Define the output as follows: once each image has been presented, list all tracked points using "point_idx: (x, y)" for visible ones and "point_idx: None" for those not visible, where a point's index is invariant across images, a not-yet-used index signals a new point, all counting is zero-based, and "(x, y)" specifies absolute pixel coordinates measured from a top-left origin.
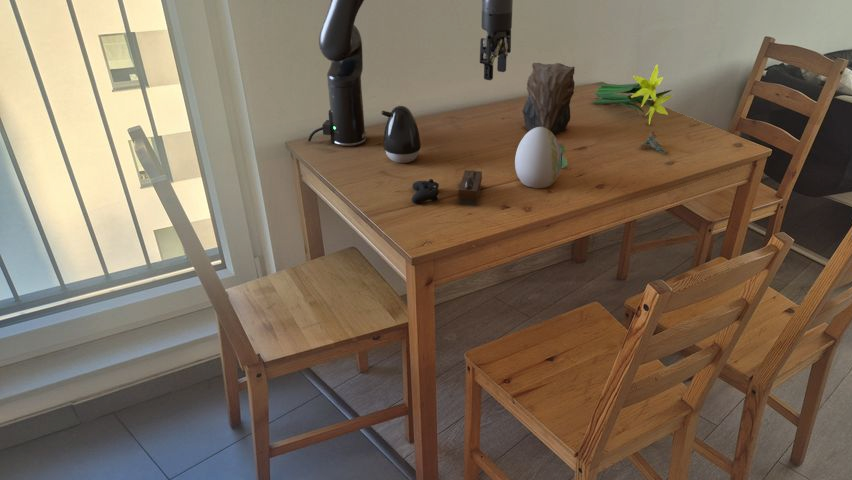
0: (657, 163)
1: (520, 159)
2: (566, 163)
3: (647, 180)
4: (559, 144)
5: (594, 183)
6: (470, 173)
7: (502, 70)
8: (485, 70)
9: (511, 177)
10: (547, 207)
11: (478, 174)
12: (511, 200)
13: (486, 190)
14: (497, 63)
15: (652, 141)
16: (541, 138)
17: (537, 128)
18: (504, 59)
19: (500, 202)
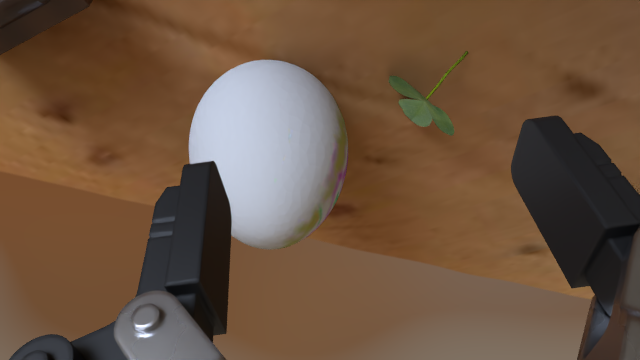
0: (523, 237)
1: (192, 139)
2: (418, 123)
3: (421, 251)
4: (451, 127)
5: (349, 197)
6: (4, 3)
7: (520, 164)
8: (151, 260)
9: (248, 25)
10: (153, 181)
11: (54, 12)
12: (109, 105)
13: (96, 11)
14: (564, 166)
15: None
16: (233, 236)
17: (261, 231)
18: (567, 265)
19: (70, 89)
